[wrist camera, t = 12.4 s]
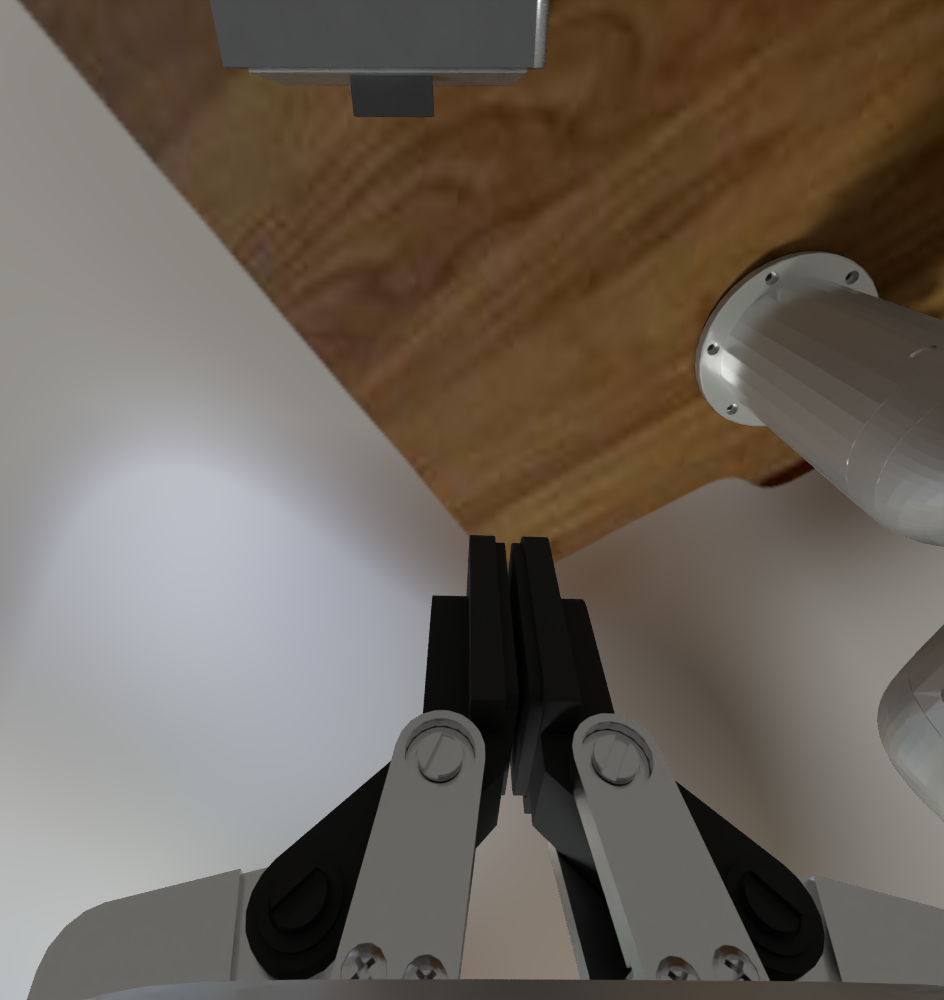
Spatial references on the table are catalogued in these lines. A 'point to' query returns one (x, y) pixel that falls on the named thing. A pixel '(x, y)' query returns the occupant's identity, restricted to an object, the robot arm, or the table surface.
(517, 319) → the table surface
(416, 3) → the lid
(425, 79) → the cooker pot
